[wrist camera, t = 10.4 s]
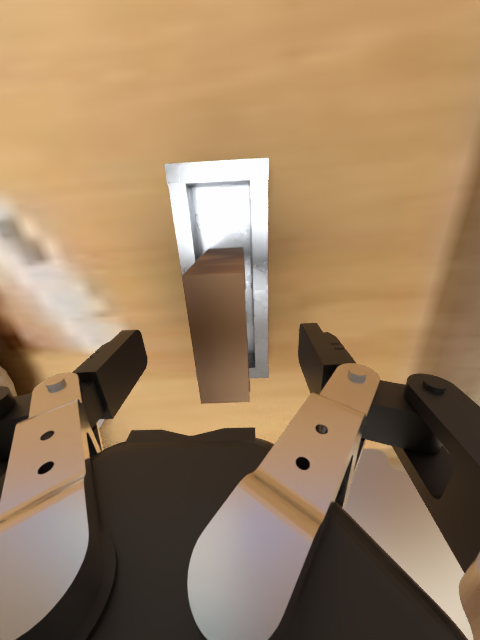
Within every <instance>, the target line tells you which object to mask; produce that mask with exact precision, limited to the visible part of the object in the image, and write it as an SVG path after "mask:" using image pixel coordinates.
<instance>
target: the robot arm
mask: <svg viewBox="0 0 480 640" xmlns="http://www.w3.org/2000/svg"><path fill="white" fill-rule="evenodd" d="M298 358H299V363H300V366H301V369H302V372H303V374H304V377H305V380H306V382H307V385H308V388H309V390H310V393H311V394H310V395H309V397H308V398H307V400H306V401H305V402H304V404H303V405H302V407H301V408H300V409H299V411H298V412H297V414H296V415H295V416H294V418H293V419H292V421H291V422H290V423H289V425H288V426H287V428H286V429H285V430H284V432H283V433H282V435H281V436H280V437H279V439H278V440H277V442H276V443H275V444H272V443H270V442H268V441H265V440H262V439H258V438H255V428H223V429H219V430H215V431H211V432H207V433H203V434H198V435H194V436H187V435H183V434H178V433H174V432H169V431H165V430H132V431H131V433H130V435H129V436H128V438H127V440H126V441H125V442H122V443H119V444H116V445H113V446H111V447H109V448H107V449H105V450H104V449H103V444H102V439H101V434H100V430H99V427H98V424H97V422H98V421H99V419H113V418H114V416H115V415H116V413H117V412H118V410H119V409H120V407H121V406H122V404H123V403H124V401H125V399H126V398H127V396H128V395H129V393H130V392H131V390H132V389H133V387H134V386H135V384H136V383H137V381H138V380H139V378H140V376H141V375H142V373H143V372H144V370H145V369H146V366H147V355H146V351H145V347H144V343H143V339H142V335H141V332H140V331H139V330H123V331H121V332H120V333H119V334H118V335H117V336H116V337H115V338H113V339H112V340H111V341H110V342H108V343H106V344H104V345H102V346H101V347H100V348H99V349H98V350H97V351H96V352H95V353H93V354H92V355H91V356H90V358H88V359H87V360H86V361H85V362H83V363H82V364H81V365H80V366H79V367H78V368H77V369H76V370H75V371H74V372H72V373H63V374H59V375H55V376H53V377H50V378H48V379H46V380H44V381H43V382H41V383H40V384H38V385H37V386H36V387H35V388H34V390H33V392H32V393H29V394H24V395H20V396H15V397H14V396H13V394H12V392H11V391H10V389H9V388H8V387H6V386H0V496H1V500H0V640H468V639H467V638H466V636H465V635H464V634H463V633H462V631H461V630H460V629H459V628H458V627H457V626H456V624H455V623H454V622H453V621H452V620H451V618H450V617H449V616H448V615H447V614H446V613H445V612H444V611H443V610H442V609H441V608H440V607H439V606H438V604H437V603H435V601H434V600H433V599H432V598H431V597H430V596H429V595H428V594H427V593H426V592H425V591H424V590H423V589H422V588H421V587H419V585H418V584H417V583H416V582H415V581H414V580H413V579H412V578H411V577H410V576H409V575H408V574H407V573H406V572H405V571H404V570H403V569H402V568H401V567H400V566H399V565H398V564H397V563H396V562H395V561H394V560H393V559H392V558H391V557H390V556H389V555H388V554H387V553H386V552H385V551H384V550H383V549H382V548H381V547H380V546H379V545H378V544H377V543H376V542H375V541H374V540H373V539H372V538H371V537H370V536H369V535H368V534H367V533H366V532H365V531H364V530H363V529H362V528H361V527H360V526H359V524H357V523H356V521H355V520H354V519H352V517H351V516H350V515H349V514H348V513H347V512H346V511H345V510H344V507H345V504H346V501H347V498H348V494H349V490H350V487H351V483H352V480H353V477H354V474H355V471H356V468H357V465H358V462H359V459H360V456H361V453H362V450H363V448H364V445H365V442H366V439H367V440H371V441H375V442H379V443H383V444H387V445H391V446H392V447H393V449H394V450H395V452H396V454H397V456H398V457H399V459H400V461H401V463H402V464H403V466H404V468H405V470H406V471H407V473H408V475H409V477H410V478H411V480H412V482H413V484H414V485H415V487H416V489H417V491H418V493H419V494H420V496H421V498H422V499H423V501H424V503H425V505H426V507H427V508H428V510H429V511H430V513H431V515H432V517H433V519H434V521H435V522H436V524H437V526H438V527H439V529H440V531H441V533H442V534H443V536H444V538H445V540H446V541H447V543H448V545H449V547H450V548H451V550H452V552H453V554H454V555H455V557H456V559H457V561H458V563H459V564H460V566H461V568H462V570H463V571H464V573H465V574H464V576H463V577H462V579H461V580H460V584H459V595H460V600H461V603H462V607H463V609H464V611H465V614H466V617H467V619H468V621H469V624H470V626H471V630H472V634H473V638H474V640H480V407H479V406H478V405H477V404H476V403H475V402H474V401H472V400H471V399H470V398H469V397H468V396H467V395H465V394H464V393H463V392H462V391H461V390H460V389H459V388H457V387H456V386H455V385H454V384H452V383H450V382H449V381H447V380H445V379H442V378H440V377H437V376H433V375H429V374H413V375H411V376H409V377H408V379H407V383H406V385H404V384H398V383H392V382H386V381H382V380H380V378H379V376H378V374H377V373H376V372H375V371H373V370H372V369H370V368H368V367H366V366H364V365H360V364H356V362H355V361H354V360H353V358H352V357H351V356H350V354H349V353H348V352H347V350H346V349H345V348H344V346H343V345H342V344H341V343H340V341H339V340H338V339H337V337H335V336H334V335H332V334H330V333H329V332H322V330H321V329H320V327H319V326H318V324H317V323H302V324H300V329H299V347H298ZM444 447H445V448H446V449H447V450H446V449H445V448H444ZM448 452H449V453H448Z"/></svg>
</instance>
